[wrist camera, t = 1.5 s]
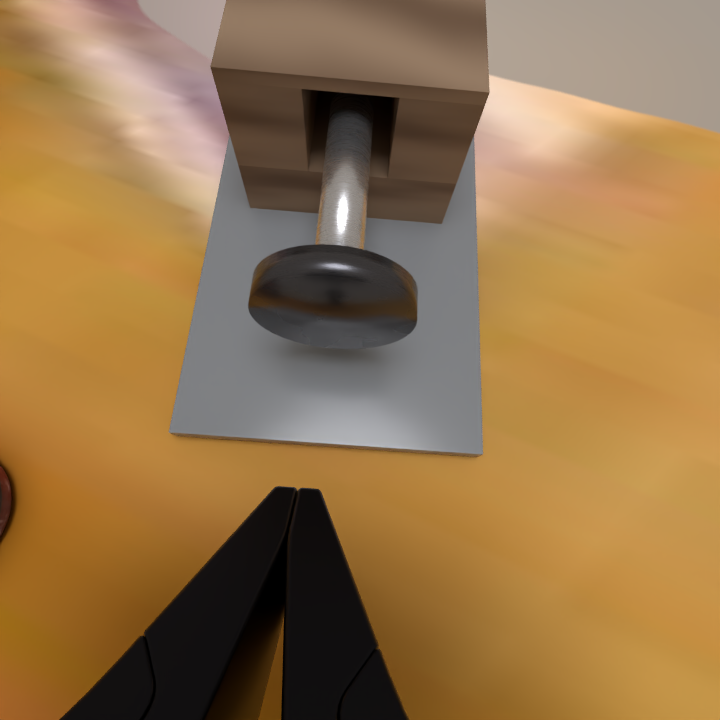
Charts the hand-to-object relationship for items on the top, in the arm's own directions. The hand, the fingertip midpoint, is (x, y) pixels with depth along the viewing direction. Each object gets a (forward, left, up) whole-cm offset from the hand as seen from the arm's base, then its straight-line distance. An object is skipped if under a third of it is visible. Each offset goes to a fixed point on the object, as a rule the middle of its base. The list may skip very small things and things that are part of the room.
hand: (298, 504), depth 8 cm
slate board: (+14, -5, -14) cm, 20 cm away
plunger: (+11, -4, -10) cm, 16 cm away
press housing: (+20, -7, -13) cm, 25 cm away
